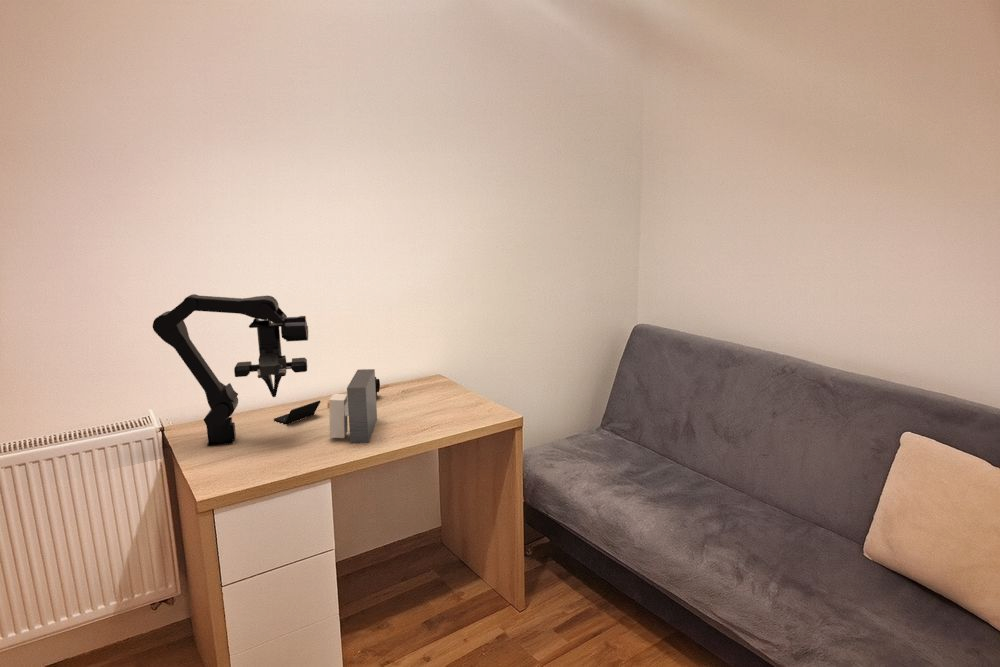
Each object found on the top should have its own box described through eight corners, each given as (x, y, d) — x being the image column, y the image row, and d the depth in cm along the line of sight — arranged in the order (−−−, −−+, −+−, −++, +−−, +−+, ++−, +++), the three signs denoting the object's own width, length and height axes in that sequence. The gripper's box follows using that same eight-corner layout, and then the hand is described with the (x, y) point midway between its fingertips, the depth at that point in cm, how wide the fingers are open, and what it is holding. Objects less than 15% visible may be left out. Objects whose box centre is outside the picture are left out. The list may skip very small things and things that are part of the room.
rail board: (346, 443, 178) (343, 388, 175) (357, 420, 196) (354, 369, 192) (368, 442, 179) (365, 387, 175) (377, 420, 196) (374, 369, 193)
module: (326, 437, 179) (326, 399, 177) (330, 431, 184) (330, 394, 182) (344, 438, 180) (344, 400, 177) (347, 431, 185) (347, 394, 182)
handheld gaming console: (296, 405, 205) (307, 385, 200) (312, 420, 204) (324, 400, 199) (270, 422, 196) (280, 401, 190) (287, 438, 195) (298, 417, 189)
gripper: (229, 351, 167) (235, 409, 171) (304, 346, 172) (308, 402, 176) (234, 342, 178) (239, 396, 181) (305, 337, 183) (309, 390, 186)
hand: (274, 396), depth 181 cm, fingers closed
